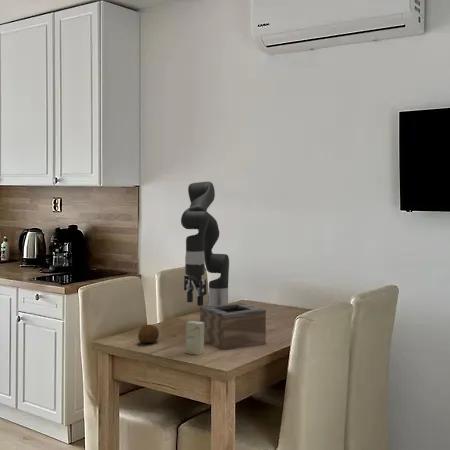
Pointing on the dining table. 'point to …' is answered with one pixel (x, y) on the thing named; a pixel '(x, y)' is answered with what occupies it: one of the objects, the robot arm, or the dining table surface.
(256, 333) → the slot box
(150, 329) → the potato
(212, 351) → the dining table surface
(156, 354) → the dining table surface
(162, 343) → the dining table surface
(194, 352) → the skincare box
